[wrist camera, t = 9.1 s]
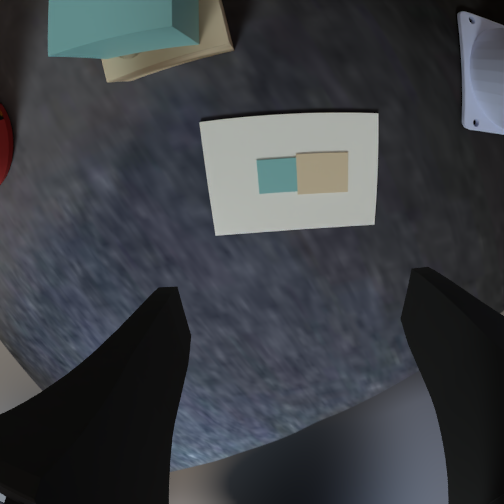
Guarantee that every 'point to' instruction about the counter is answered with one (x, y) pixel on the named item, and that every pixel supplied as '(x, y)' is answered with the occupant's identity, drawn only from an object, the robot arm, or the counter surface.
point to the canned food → (5, 143)
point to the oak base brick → (176, 48)
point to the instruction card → (291, 171)
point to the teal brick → (120, 26)
